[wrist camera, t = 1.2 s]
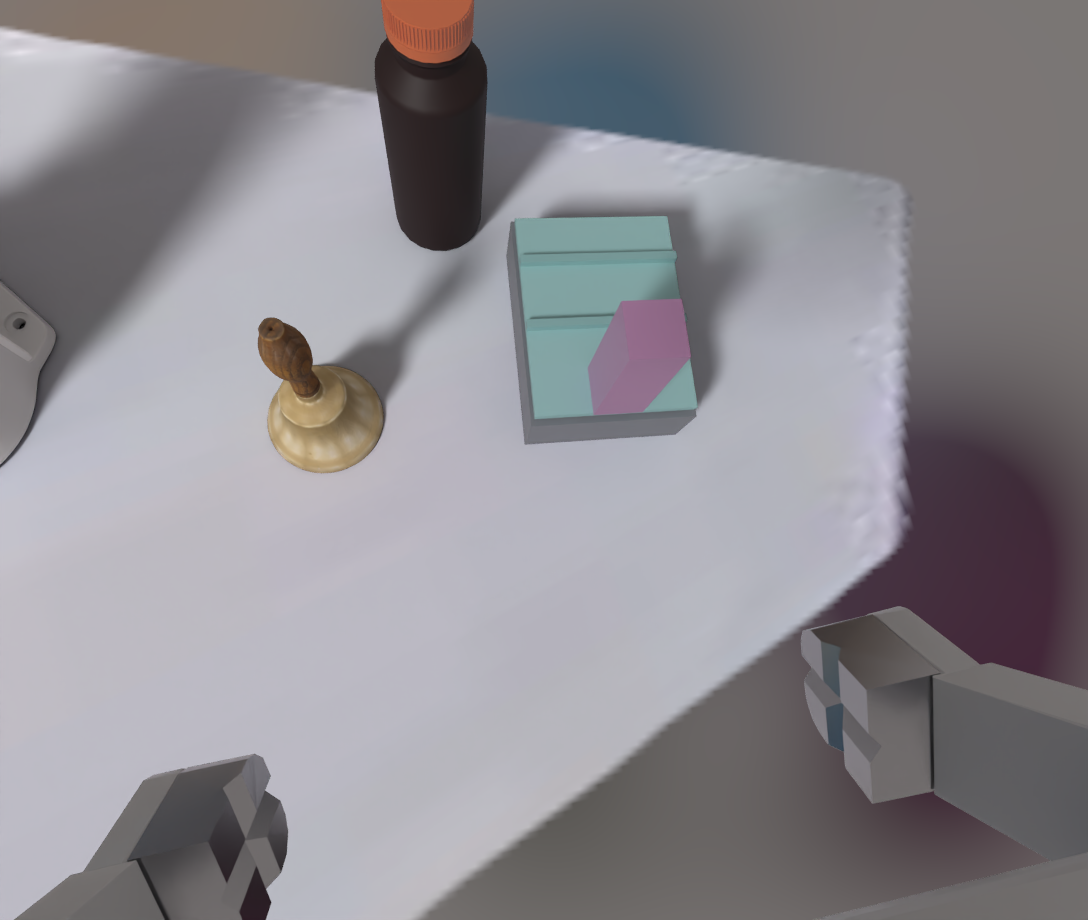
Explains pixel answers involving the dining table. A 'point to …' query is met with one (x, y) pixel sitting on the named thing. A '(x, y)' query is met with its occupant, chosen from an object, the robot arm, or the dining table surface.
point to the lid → (603, 316)
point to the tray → (581, 425)
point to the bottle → (433, 118)
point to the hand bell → (317, 405)
